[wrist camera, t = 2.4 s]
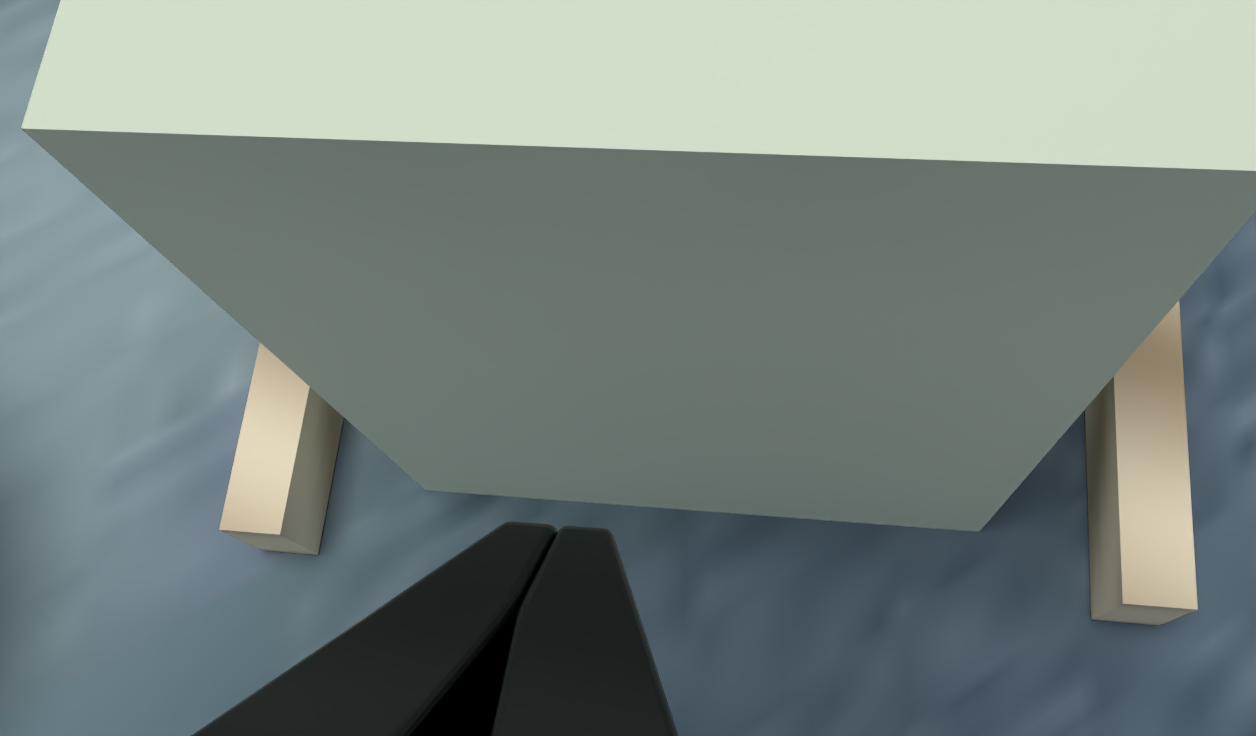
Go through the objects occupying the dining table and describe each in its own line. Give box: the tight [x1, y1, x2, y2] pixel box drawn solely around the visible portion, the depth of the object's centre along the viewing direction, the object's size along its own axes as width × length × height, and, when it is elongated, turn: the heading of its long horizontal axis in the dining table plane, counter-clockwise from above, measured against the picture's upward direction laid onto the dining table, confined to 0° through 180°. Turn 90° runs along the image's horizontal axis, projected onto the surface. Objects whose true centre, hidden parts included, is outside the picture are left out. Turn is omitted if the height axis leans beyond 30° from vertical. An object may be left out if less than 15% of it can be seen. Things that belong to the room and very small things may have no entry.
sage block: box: [21, 0, 1256, 532], centre depth 18 cm, size 10×11×14 cm
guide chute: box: [219, 301, 1198, 625], centre depth 24 cm, size 21×17×4 cm
